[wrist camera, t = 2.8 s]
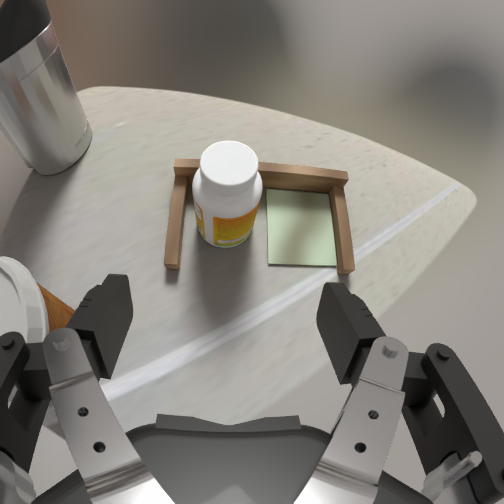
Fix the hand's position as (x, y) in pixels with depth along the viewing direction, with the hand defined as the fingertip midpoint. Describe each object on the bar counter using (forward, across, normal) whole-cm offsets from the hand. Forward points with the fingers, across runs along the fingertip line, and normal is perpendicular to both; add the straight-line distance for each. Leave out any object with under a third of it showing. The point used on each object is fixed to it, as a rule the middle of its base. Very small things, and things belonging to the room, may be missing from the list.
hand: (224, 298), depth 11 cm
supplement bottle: (+17, 0, +3) cm, 17 cm away
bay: (+17, -4, +3) cm, 17 cm away
